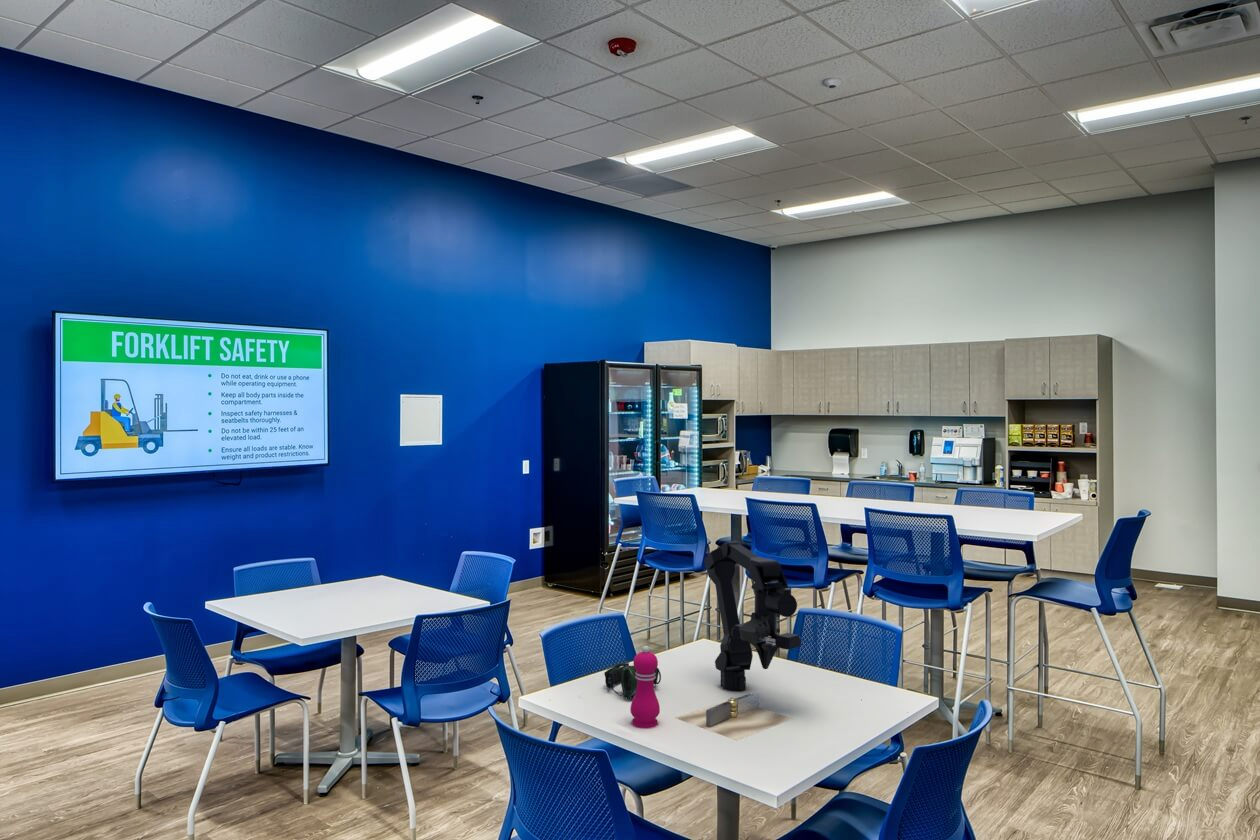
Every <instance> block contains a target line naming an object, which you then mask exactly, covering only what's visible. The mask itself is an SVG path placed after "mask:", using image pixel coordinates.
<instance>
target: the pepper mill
mask: <svg viewBox="0 0 1260 840" xmlns="http://www.w3.org/2000/svg"><path fill="white" fill-rule="evenodd" d="M641 649H642V650H641V651H640V652H638V653H637V654H636V655H635V656H634V658H633V662H632V663H633V664H632V665H633V666H634V668H635V669H636V670H637V671H636V672H635V674H636V676H635V678H636V679H637V689H636V693H635V696H634V697H633V698H632V700H631V703H630V709H629V711H630V714H631V715H632V717H633V719H632V720H631V721H632V722H631V724H632V726H634V727H636V728H640V729H651V728H655V727H656V726H658V724H659V722H658V719H657V718H658V716H659V715H660V711H661V710H660V708H661V707H660V704H659V699H658V697H657V695H656V691H655V688H654V686H655V684H654V679H655V678H656V676H655V674H656V673H655V672H654V671H655V669H656V668H658V665H659V662H658V657H657V656H656V655H655V654H654V653H652V652H651V651H650V647H649V646H648V645H643V646H642V648H641Z"/></svg>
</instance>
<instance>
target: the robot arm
mask: <svg viewBox="0 0 1260 840" xmlns="http://www.w3.org/2000/svg"><path fill="white" fill-rule="evenodd" d="M737 565H739V566H741V567H742V568H743V569H745V570H746V571H747V572H748V576H749V578H750V579H751V580H752V581H753V582H754V584H752V585H751V589H752V590H754V611H753V612H751V615H750V620H748V621H746V622H741V623H740V619H739V618H740V617H739V613H738V608H737V607H738V606H737V602H736V596H735V592H734V586H733V579H734V577H735V575H736V571H737V569H736V566H737ZM704 566H705V569H706V572H707V577H708V578H710V580H711V581H712V583H714V585H715V591H716V596H717V601H718V607H719V613H720V619H721V625H722V630H723V637H722V641H721V642H720V644H719V647H720V653H719V654H718V656H716V658H715V660H714V664H715V665H714V666H715V668H716V670H718V671H720V688H722V689H723V690H725V691H727V692H736V693H742V692H744V691H746V690H747V689H746V688H747V686H746V685H747V682H746V681H747V679H746V674H745V673H746V671H750V670H751V665H752V661H753V650H752V646H753V647H754V648H755V650H756V653H757V654H758V658H759V661H760V664H761V667H762V669H763V670H768V669H769V667H770V665H771V662H772V660H773V658H774V656H775V654H776V652H777V650H778V649H779V648H780V649H783V650H793V649H795V648H799V647H802V638H801V636H800V635H798V634H796V633H790V632H785V633H781V634H779V633H780V628H778V618H780V616H782V617H785V618H789V617H792V616H793V615H794V614H795V613H796V612H797V609H798V602H797V599H796V597H794V595H792V594H791V589H790V588H789V584H788V580H787V578H786V576H785V574H784V571H783V569H782V566H781V564H780V562H779V561H777V560H775V559H772V558H766V557H761V556H759V555H757V554H756V553H754V552H753V551H751V550H750V549H748V548H747V547H745V546H743V545H742V543H741V542H739V541H729V542H728V541H727V542H723V543H722V545H720V546H719V547H717V548H715V549H714V550H712V551H710V552H709V553H708V554H707V556H706V557H705V558H704ZM751 645H752V646H751Z"/></svg>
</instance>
